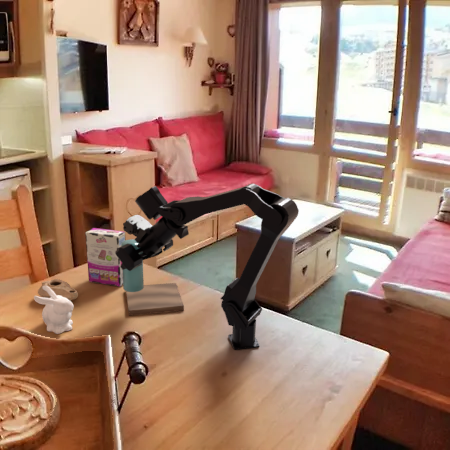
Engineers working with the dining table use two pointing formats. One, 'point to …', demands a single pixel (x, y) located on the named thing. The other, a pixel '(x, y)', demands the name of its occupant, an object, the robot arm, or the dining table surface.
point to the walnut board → (155, 299)
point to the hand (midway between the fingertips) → (128, 264)
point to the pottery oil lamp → (58, 289)
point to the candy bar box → (104, 256)
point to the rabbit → (56, 311)
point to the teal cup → (133, 273)
